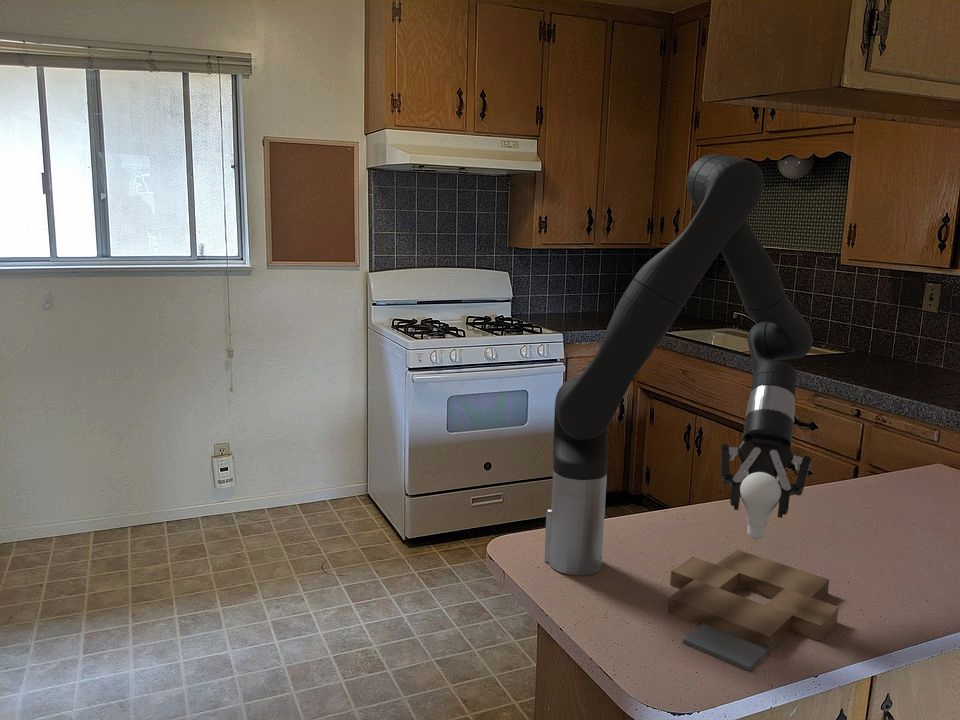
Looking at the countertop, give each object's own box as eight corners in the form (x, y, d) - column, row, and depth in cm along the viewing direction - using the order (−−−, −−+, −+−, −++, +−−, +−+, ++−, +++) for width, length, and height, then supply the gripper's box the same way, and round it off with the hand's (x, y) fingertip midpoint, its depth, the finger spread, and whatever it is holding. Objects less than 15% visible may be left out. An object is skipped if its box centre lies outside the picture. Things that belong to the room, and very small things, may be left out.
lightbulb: (743, 527, 127) (750, 463, 125) (781, 538, 124) (788, 473, 121) (728, 539, 123) (735, 473, 120) (767, 551, 119) (775, 483, 117)
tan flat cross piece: (644, 602, 124) (645, 588, 124) (713, 555, 142) (714, 542, 141) (797, 664, 108) (799, 648, 108) (854, 602, 126) (856, 588, 125)
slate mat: (682, 642, 113) (683, 639, 113) (711, 619, 119) (711, 616, 119) (749, 671, 106) (749, 667, 106) (775, 645, 113) (775, 641, 113)
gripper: (724, 401, 129) (709, 493, 120) (818, 413, 123) (810, 510, 115) (724, 424, 134) (710, 513, 126) (814, 436, 129) (805, 530, 121)
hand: (758, 511), depth 120 cm, fingers closed on lightbulb, 6 cm apart
